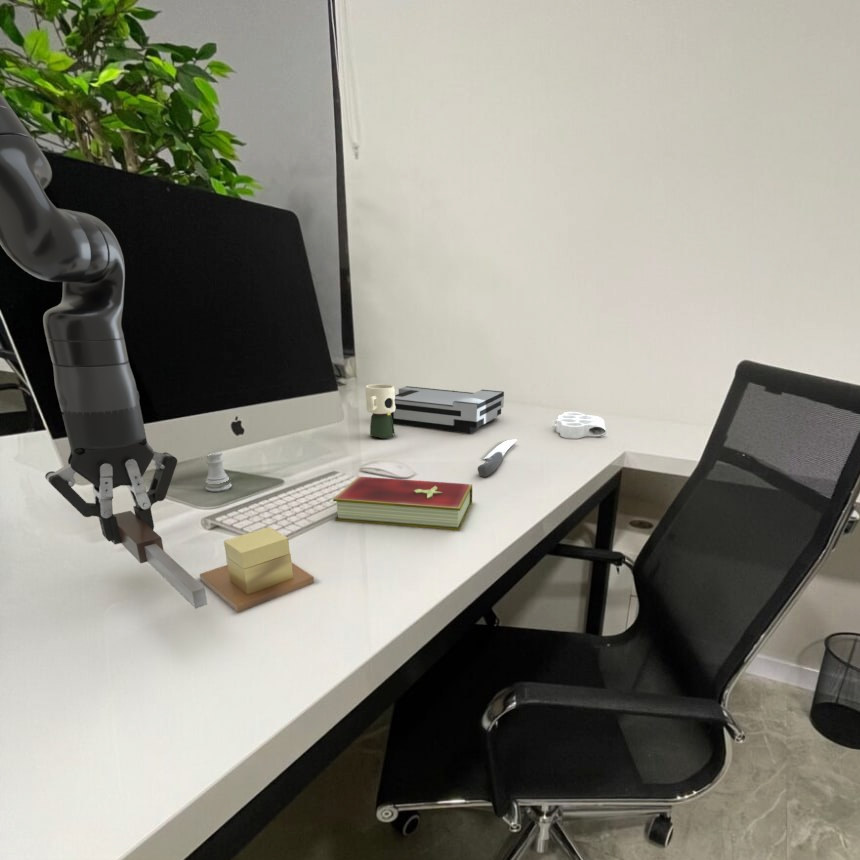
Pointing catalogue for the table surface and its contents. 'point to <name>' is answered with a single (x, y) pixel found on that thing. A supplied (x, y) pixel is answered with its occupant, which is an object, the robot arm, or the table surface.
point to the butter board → (256, 598)
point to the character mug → (381, 409)
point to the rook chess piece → (216, 473)
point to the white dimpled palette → (579, 425)
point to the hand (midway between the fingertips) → (130, 537)
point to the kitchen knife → (494, 458)
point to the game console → (446, 408)
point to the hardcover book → (405, 503)
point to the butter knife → (157, 557)
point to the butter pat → (256, 547)
